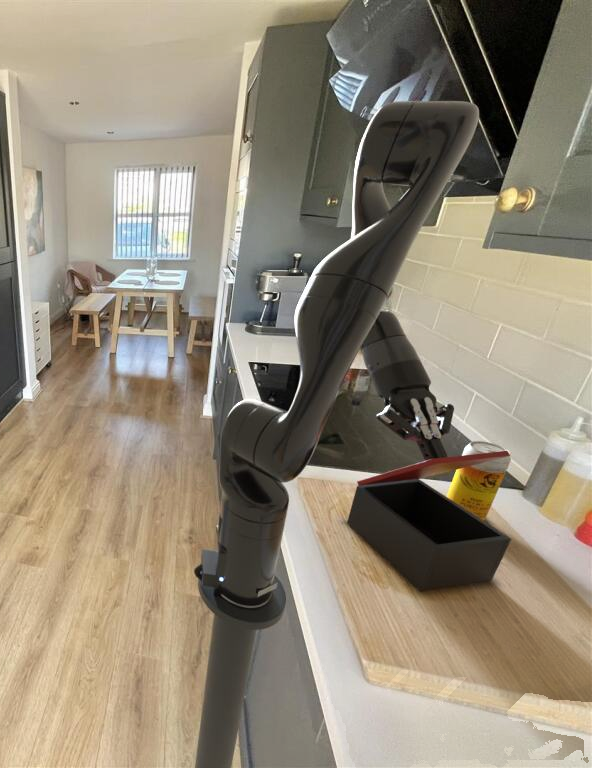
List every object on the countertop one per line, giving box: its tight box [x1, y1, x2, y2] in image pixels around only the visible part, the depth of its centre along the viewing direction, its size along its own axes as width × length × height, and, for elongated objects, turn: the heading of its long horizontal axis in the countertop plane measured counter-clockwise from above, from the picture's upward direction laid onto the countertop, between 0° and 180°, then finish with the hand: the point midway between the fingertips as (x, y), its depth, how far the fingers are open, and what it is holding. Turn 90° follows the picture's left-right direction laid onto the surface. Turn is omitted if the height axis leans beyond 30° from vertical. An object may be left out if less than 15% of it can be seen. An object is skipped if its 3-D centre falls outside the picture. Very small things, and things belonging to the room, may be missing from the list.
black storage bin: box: [346, 479, 512, 593], centre depth 68 cm, size 16×13×9 cm
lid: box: [356, 450, 511, 486], centre depth 66 cm, size 16×13×1 cm
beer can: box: [445, 440, 512, 522], centre depth 75 cm, size 6×6×15 cm
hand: (438, 463), depth 64 cm, fingers closed
